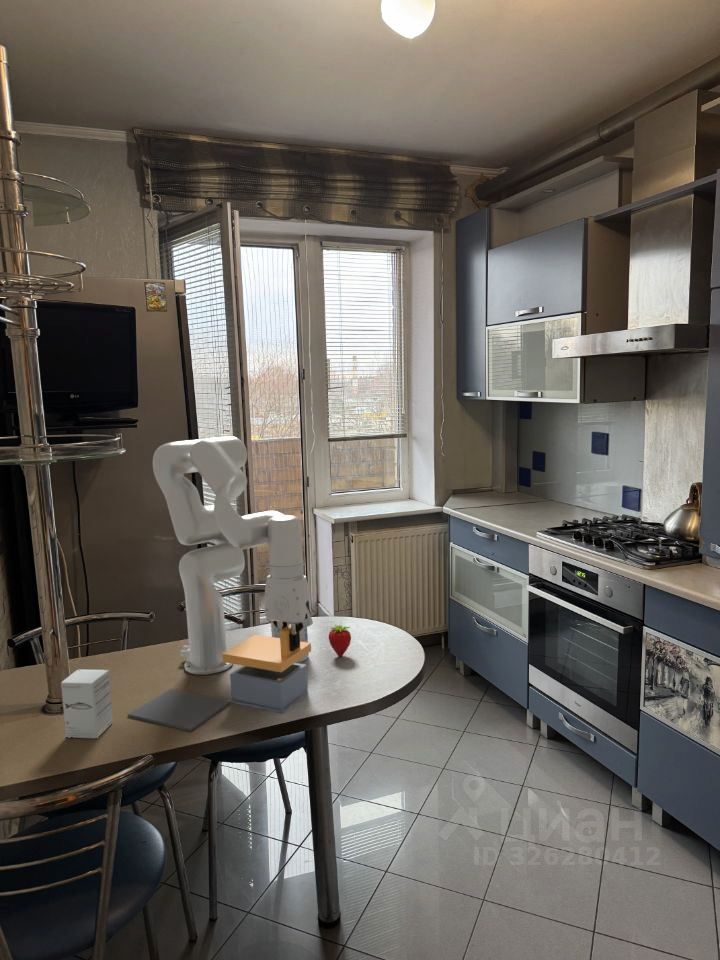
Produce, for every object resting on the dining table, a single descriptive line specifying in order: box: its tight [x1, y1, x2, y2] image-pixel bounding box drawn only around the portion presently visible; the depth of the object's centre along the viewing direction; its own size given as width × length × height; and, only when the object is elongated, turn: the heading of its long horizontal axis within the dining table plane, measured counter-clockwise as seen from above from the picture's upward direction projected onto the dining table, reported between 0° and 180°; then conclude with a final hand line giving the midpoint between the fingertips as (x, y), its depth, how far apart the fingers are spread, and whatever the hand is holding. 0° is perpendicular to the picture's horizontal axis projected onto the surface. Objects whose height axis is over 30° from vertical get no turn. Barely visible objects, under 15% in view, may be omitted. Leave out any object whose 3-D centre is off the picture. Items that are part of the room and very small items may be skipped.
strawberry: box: [328, 620, 352, 658], centre depth 183 cm, size 6×8×10 cm
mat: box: [127, 688, 232, 732], centre depth 156 cm, size 18×14×1 cm
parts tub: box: [229, 663, 309, 714], centre depth 160 cm, size 14×11×7 cm
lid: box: [222, 624, 312, 672], centre depth 158 cm, size 16×13×8 cm
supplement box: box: [60, 669, 114, 740], centre depth 147 cm, size 7×7×13 cm
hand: (290, 648), depth 156 cm, fingers closed on lid, 1 cm apart
